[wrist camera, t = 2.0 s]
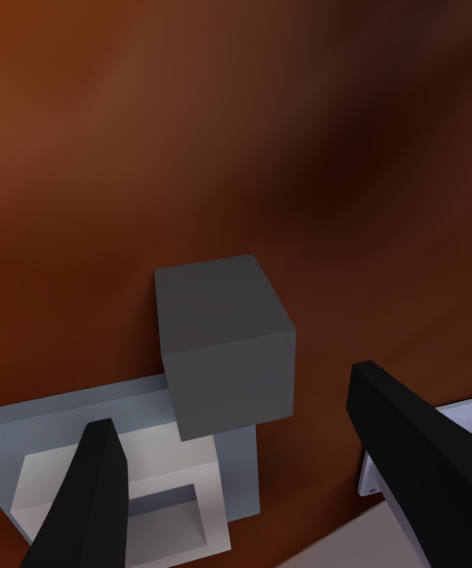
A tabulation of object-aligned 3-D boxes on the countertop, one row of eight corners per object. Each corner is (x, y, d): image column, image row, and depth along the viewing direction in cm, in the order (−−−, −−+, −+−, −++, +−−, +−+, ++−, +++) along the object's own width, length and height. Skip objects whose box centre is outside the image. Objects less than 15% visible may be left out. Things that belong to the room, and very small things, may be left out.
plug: (252, 253, 15) (296, 329, 11) (255, 329, 18) (292, 415, 13) (154, 269, 15) (161, 355, 11) (169, 345, 17) (181, 442, 13)
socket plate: (247, 356, 18) (268, 414, 15) (255, 498, 25) (271, 556, 22) (-46, 416, 16) (-85, 496, 13) (53, 551, 23) (41, 623, 20)
